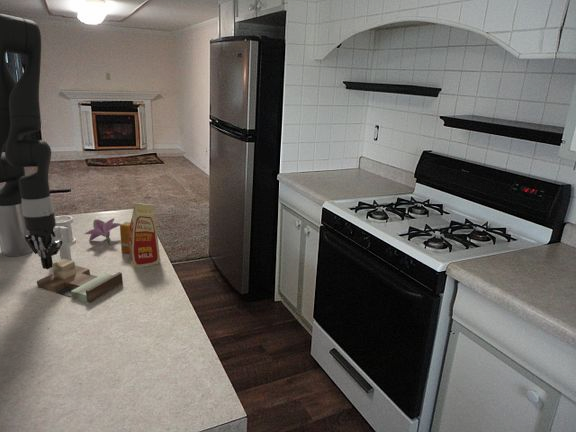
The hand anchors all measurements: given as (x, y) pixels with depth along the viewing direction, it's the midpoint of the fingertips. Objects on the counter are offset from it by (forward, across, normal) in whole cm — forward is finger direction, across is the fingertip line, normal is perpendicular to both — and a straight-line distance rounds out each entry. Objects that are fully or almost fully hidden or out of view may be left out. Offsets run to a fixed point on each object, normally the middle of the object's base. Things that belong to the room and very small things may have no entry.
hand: (48, 267), depth 125 cm
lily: (+3, -7, +28) cm, 29 cm away
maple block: (+1, +6, 0) cm, 7 cm away
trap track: (+3, +12, 0) cm, 13 cm away
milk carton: (+3, +17, +22) cm, 28 cm away
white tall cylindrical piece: (+3, -6, +11) cm, 13 cm away
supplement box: (+3, +7, +25) cm, 26 cm away
